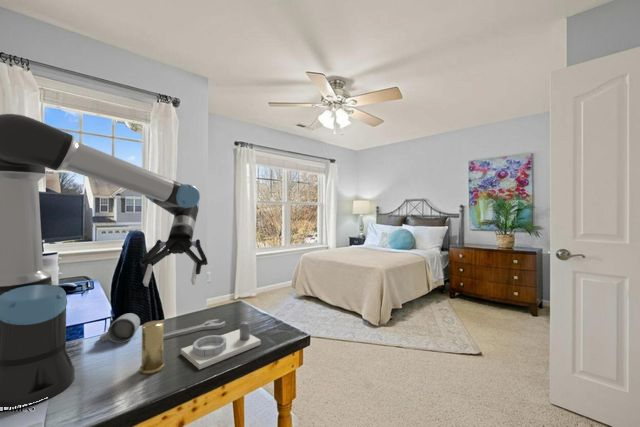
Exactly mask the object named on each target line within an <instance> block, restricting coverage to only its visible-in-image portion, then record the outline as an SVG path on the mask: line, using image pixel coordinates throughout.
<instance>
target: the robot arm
mask: <svg viewBox="0 0 640 427" xmlns="http://www.w3.org/2000/svg"><path fill="white" fill-rule="evenodd" d="M46 168H47V169H51V170H52V171H56V172H57V171H61V170H67V171H69V172H72V173H75V174H78V175H82V176H83V177H84V176H85V177H87V178H91V179H93V180H97V181H100V182H103V183H106V184H108V185H112V186H115V187H117V188H121V189H124V190H127V191H131V192H133V193H137V194H139V195H142V196H144V197H145V198H146V199H148V200H149V201H150V202H151V203H154V204H155V205H157V206H158V207H160V208H162V209H163V210H165V212H168V213H169V214H171V215H173V220H172V223H171V227H170V231H169V234H168V238H167V240H165V241H162V240H161V239H157V240H156V242H155V244H154V246H153V247H151V249H149V251H148V252H146V253H145V254H144V256H143V257H141V258H140V259H139V264H140V266H141V267H143V270H142V275H143V280H142V283H143V285H144V287H149V284H150V281H151V278H152V273H153V270H154V267H153V266H155V265H156V264H157V263H159V262H161V261H162V260H163V259H164V258H166V257H168V256H170V255H171V254H173V255H177V254H178V255H179V254H180V255H182V254H186V255H187V256H188V257H189V258H190V259H191V260H192V261H193V269H192V274H191V278H190V282H191V285H192V286H194V285H196V279H197V275H200V274H201V271H202V266H206V265H208V262H209V261H208V259H207V256H206V254H205V253H204V250H203V248H202V246H201V241H200V240H201V239H196V240H194V241H193V238H194V237H193V236H194V231H195V227H196V221H197V218H198V213H199V206H200V203H199V202H200V198H201V194H200V191H199V189H198V188H197V187H196V186H194V185H192V184H188V183H187V184H186V183H181V182H178V181H175V180H173V179H170V178H168V177H165V176H163V175H162V174H161V175H160V174H158V173H155V172H153V171H151V170H148V169H146V168H142V167H141V166H138V165H136V164H134V163H130V162H128V161H126V160H123V159H121V158H119V157H116V156H114V155H111V154H108V153H106V152H103V151H102V150H100V149H97V148H94V147H92V146H89V145H87V144H84V143H81V142H79V141H78V140H76V138H75V136H74V135H73V134H70V133H68V132H65V131H63V130H61V129H58V128H56V127H53V126H51V125H49V124H47V123H44V122H43V121H40V120H37V119H34V118H32V117H29V116H26V115H23V114H17V113H3V114H0V407H15V406H18V405H24V404H28V403H33V402H36V401H39V400H41V399H44V398H46V397H48V398H49V399H51V398H52V397H54V396H57V395H58V394H60V393H62V392H64V391H65V390H66V389H68V387H70V386H71V385H72V383H73V382H74V381H75V378H76V370H75V369H76V368H75V366H74V365H73V363H72V360H71V358H70V355H69V353H68V350H67V348H66V347H67V346H66V345H67V344H66V343H67V342H66V341H67V306H68V297H67V293H66V291H65V290H64V288H63V287H60V286H58V285H53V281H52V273H50V272H48V271H46V270H45V269H44V260H43V241H42V240H43V239H42V226H41V225H42V224H41V209H40V208H41V207H40V192H39V191H40V190H39V181H40V180H41V179H43V178H44V177H45V176H46ZM191 247H194V248H195V249H196V250H197V253H198V255H199V257H200V258H199V257H198V255H196V253H195V252H194V251H193V250H192V249H191ZM50 397H51V398H50Z"/></svg>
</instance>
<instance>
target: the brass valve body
mask: <svg viewBox="0 0 640 427" xmlns="http://www.w3.org/2000/svg"><path fill="white" fill-rule="evenodd" d="M164 324H165V323H164V321H163V320H151V321H147V322H144V323H143V324H142V325H141V365H140V367H139V373H140V374H141V375H145V376H147V375H149V376H150V375H153V374H154V375H155V374H156V373H159V372H161V371H163V370H164V368H165V366H166V365H165V364H166V363H165V361H164V340H163V333H164Z"/></svg>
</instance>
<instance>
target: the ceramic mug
mask: <svg viewBox="0 0 640 427" xmlns="http://www.w3.org/2000/svg"><path fill="white" fill-rule="evenodd" d="M140 325H141V318H140V317H139V316H138V315H137V314H135V313H132V312H129V313H124V314H122V315H119V317H117V318H116V319H115V320H114V321H112V323H111V324H110V325H109V326H108V328H107V331H106V332H105V333H103V334H102V335H100V336H99V339H100V341H101V342H106V341H109V340H110V341H112V342H114V343H117V344H122V343H126V342H128V341H129V340H131V339H132V338H133V337H134V336H135V334H136V333H137V331H138V330H139V328H140Z"/></svg>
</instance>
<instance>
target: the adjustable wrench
mask: <svg viewBox="0 0 640 427" xmlns="http://www.w3.org/2000/svg"><path fill="white" fill-rule="evenodd" d="M225 326H226V321H225V320H224V321H222V322H220V319H219V318H218V319H216V318H215V319H210V320H206V321H205V322H204V323H202V324H198V325H194V326H190V327H186V328H181V329H177V330H173V331H169V332H165V333H164V332H163V341H164V340H166V339H171V338H176V337H180V336H184V335H187V334H192V333H196V332H199V331H205V330H218V329H221V328H224V327H225Z"/></svg>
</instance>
